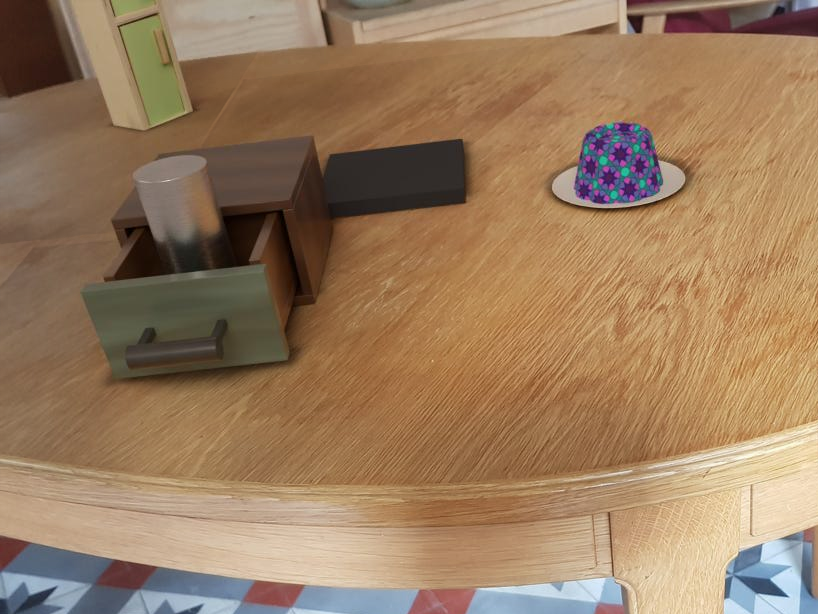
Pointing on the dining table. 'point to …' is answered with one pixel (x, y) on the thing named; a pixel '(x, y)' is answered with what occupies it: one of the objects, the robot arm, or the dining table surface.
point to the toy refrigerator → (133, 60)
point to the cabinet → (263, 198)
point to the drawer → (197, 303)
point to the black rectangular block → (395, 178)
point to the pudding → (618, 170)
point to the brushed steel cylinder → (184, 214)
